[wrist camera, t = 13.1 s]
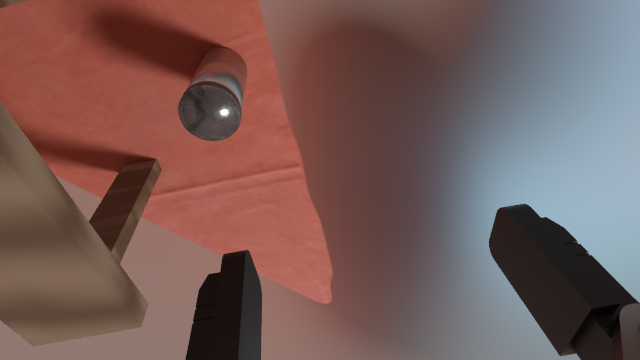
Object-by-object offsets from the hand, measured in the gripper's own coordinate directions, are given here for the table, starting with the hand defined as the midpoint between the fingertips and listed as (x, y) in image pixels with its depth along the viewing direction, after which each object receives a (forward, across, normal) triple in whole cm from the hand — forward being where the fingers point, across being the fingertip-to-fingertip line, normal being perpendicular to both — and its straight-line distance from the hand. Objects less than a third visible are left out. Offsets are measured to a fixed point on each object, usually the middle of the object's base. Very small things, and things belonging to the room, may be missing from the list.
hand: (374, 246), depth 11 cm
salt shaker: (+30, +9, +3) cm, 32 cm away
